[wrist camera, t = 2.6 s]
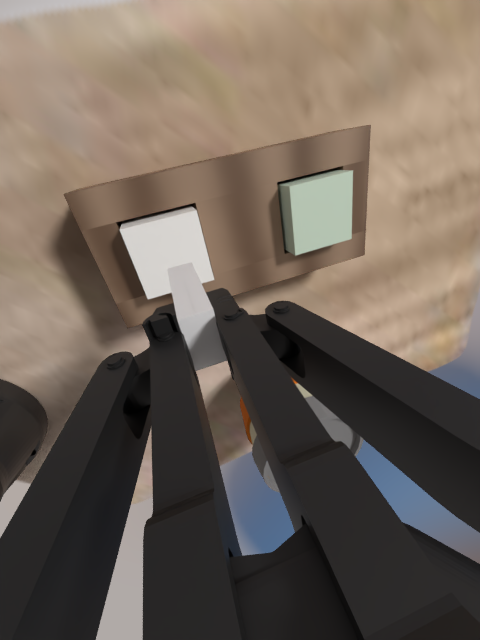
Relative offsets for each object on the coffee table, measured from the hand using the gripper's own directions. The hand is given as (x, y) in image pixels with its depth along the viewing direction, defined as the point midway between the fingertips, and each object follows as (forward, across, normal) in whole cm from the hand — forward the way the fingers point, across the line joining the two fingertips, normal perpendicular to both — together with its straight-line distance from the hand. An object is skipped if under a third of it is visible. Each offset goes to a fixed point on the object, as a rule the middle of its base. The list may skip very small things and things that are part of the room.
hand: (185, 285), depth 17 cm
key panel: (+15, -6, 0) cm, 16 cm away
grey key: (+12, 0, 0) cm, 12 cm away
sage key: (+12, -14, 0) cm, 18 cm away
